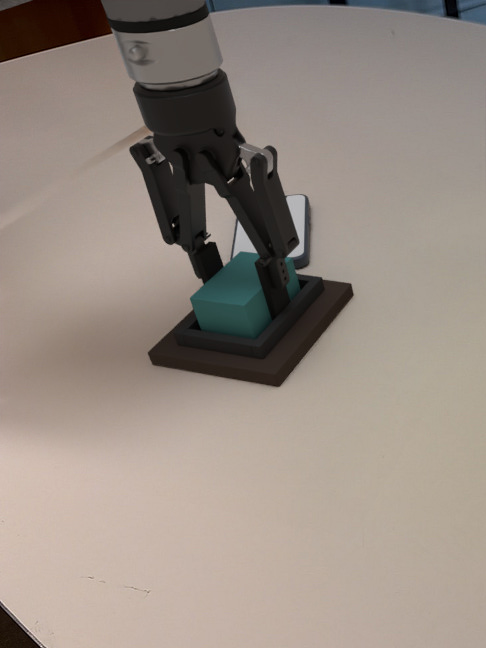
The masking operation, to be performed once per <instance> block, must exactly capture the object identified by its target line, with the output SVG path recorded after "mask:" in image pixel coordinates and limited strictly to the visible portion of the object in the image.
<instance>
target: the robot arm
mask: <svg viewBox="0 0 486 648" xmlns="http://www.w3.org/2000/svg"><path fill="white" fill-rule="evenodd" d="M31 1H32V0H0V12H1V11H4V10H7V9H11V8H14V7H16V6H19V5H22V4H25V3H28V2H31ZM100 2H101V4H102V7H103V9H104V12H105V17H106V20H107V23H108V25H109V27H110V30H111V33H112V35H113V38H114V40H115V43H116V46H117V48H118V51H119V54H120V57H121V61H122V63H123V66H124V68H125V71H126V73H127V76H128V78H129V79H130V80H132V81H134V84H133V86H132V92H133V96H134V98H135V101H136V103H137V106H138V109H139V112H140V115H141V118H142V121H143V124H144V126H145V127H146V128H147V130H149V131H150V132H151V133H153V134H152V135H146V136H145V137H144V138H142V139H140V140H139V141H137V142H136V143H134V144H132V145H131V146H129V148H128V151H129V154H130V156H131V157H132V159H133V160H134V162H135V163H136V165H137V167H138V169H139V170H140V172H141V174H142V178H143V181H144V184H145V187H146V191H147V194H148V197H149V199H150V203H151V207H152V209H153V212H154V216H155V218H156V222H157V225H158V228H159V231H160V234H161V237H162V240H163V242H164V243H165V244H167V245H168V246H173V245H174V244H175V245H177V246H179V247H181V249H182V251H184V252H185V253H187V256H188V259H189V261H190V264H191V267H192V271H193V272H194V275H195V276H196V278H197V279H198V280H201V281H202V286H203V285H204V284H205V283H206V282H207V281H209V280H210V279H211V278H212V277H213V276H214V275H215V274H216V273H217V272H219V271H220V270H221V269H222V268H223V267H224V266H225V265H224V262H223V260H222V257H221V254H220V251H219V248H218V245H217V243H216V241H208V242H206V241H207V240H208V239H209V238H210V237H211V236H212V234H211V233H209V231H207V207H206V205H207V203H206V185H209V186H212V187H213V188H214V189H215V191H216V193H217V195H218V197H220V198H222V199H225V200H226V202H227V204H228V205H229V207H230V208H231V210H232V212H233V214H234V216H235V217H237V219H238V221H239V222H240V224H241V226H242V227H243V229H244V231H245V233H246V234H247V236H248V238H249V239H250V241H251V243H252V244H253V246H254V248H255V249H256V251H257V253H258V255H259V256H260V258H259V259H258V260H257V261H256V262H254V264H255V267H256V270H257V274H258V277H259V280H260V284H261V287H262V290H263V293H264V296H265V299H266V303H267V306H268V309H269V312H270V316H271V319H272V320H274V319H275V318H276V317H277V316H278V315H279V314H280V313H281V311H282V310H283V309H284V308H285V307H286V306H287V305H288V304H289V303H290V302H291V301H290V298H289V294H288V291H287V287H286V285H287V284H288V283H289V280H290V276H289V273H288V269H287V265H286V262H285V258H286V257H287V256H288V255H289V254H290V253H291V252H292V251H293V250H294V249H295V248H296V247H297V246H298V245H299V243H300V241H299V238H298V234H297V231H296V228H295V225H294V222H293V219H292V216H291V213H290V209H289V206H288V203H287V200H286V197H285V196H286V194H285V191H284V188H283V184H282V182H281V179H280V176H279V175H280V174H279V172H278V157H279V156H278V151H277V149H276V148H275V146H273V145H270V144H269V145H266V146H265V147H263V148H260V147H258V146H256V145H253V144H249V143H248V142H247V141H246V139H245V137H244V135H243V134H242V133H241V131H240V129H239V128H238V126H237V106H236V103H235V100H234V97H233V91H232V88H231V84H230V81H229V77H228V74H227V72H226V71H224V70H223V69H222V68H221V66H222V65H223V63H224V58H223V55H222V51H221V48H220V43H219V41H218V37H217V34H216V31H215V27H214V24H213V21H212V17H211V14H210V12H209V7H208V4H207V1H206V0H100ZM243 161H244V162H245V165H246V166H245V165H244V164H243Z"/></svg>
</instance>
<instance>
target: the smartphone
mask: <svg viewBox="0 0 486 648" xmlns="http://www.w3.org/2000/svg"><path fill="white" fill-rule="evenodd" d="M285 197H286V200H287V203H288V206H289V209H290V213H291V216H292V219H293V222H294V225H295V228H296V231H297V234H298V238H299V241H300V243H299V245H298V246H297V247H296V248H295V249H294V250H293V251H292V252H291V253H290V254H289V255H288V256H287V257H292V260H293V263H294V267H295V269H300V268H303V267H306V265H308V264H309V262H310V226H311V215H310V214H311V205H310V204H311V203H310V200H309V197H308V196H307V195H306V194H303V193H297V194H288V195H287V194H286V195H285ZM235 217H236V216H235ZM232 238H233V239H232V245H231V250H230V251H231V252H230V258H229V261H230V260H232V259H233V258H234V257H235V256H236V255H237V254H238V253H239V252H240V251H243V252H251V253H257V251H256V249H255V248H254V246H253V244H252V243H251V241H250V239H249V238H248V236H247V234H246V233H245V231H244V229H243V227H242V226H241V224H240V222H239V221H238V219H237V217H236V218H235V225H234V232H233V237H232Z"/></svg>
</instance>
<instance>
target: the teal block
mask: <svg viewBox="0 0 486 648" xmlns="http://www.w3.org/2000/svg"><path fill="white" fill-rule="evenodd" d="M259 258H260V256H259V255H258V253H251V252H243V251H240V252H239V253H238V254H237V255H236V256H235V257H234V258H233V259H232V260H230V259H229V261H228V262H226V264H225V265H223V266H224V267H223V268H222V269H221V270H220V271H219V272H217V273H216V274H215V275H214V276H213V277H212V278H211V279H210V280H209V281H207V282H206V283H205V284H204V285H203V284H202V286H201V287H199V289H198V290H196V291H195V292H194V293H193V294H192V295H191V296H189V301H190V305H191V306H192V307H191V308H192V310H193V309H194V312H195V315H196V317H197V320H198V323H199V325H200V328H201V330H202V331H206V332H212V333H218V334H225V335H231V336H237V337H243V338H249V339H255V340H256V339H257V338H258V337H259V336H260V334H261V333H262V332H263V331H264V330H265V329H266V328H267V327H268V326H269V325H270V324H271V322H272V321H273V320H272V319H271V316H270V312H269V309H268V306H267V303H266V299H265V296H264V293H263V290H262V287H261V284H260V280H259V277H258V274H257V270H256V267H255V264H254V262H256V261H257V260H258V259H259ZM285 262H286V265H287V269H288V273H289V276H290V280H289V283H288V284H287V285H286V287H287V291H288V294H289V298H290V301H291V300H292V299H293V298H294V297H295V296H296V295H297V294H298V293H299V292H300V291H301V289H300V285H299V282H298V278H297V274H298V273H297V271H296V268H295V267H294V263H293V260H292V257H286V258H285Z"/></svg>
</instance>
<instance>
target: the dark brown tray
mask: <svg viewBox="0 0 486 648" xmlns="http://www.w3.org/2000/svg"><path fill="white" fill-rule="evenodd" d="M296 274H297V278H298V282H299V285H300V289H301V291H300V292H299V293H298V294H297V295H296V296H295V297H294V298H293V299H292V300H291V302H290V303H289V304H288V305H287V306H286V307H285V308H284V309H283V310H282V311H281V313H280V314H279V315H278V316H277V317H276V318H275V319H274V320H273V321H272V322H271V324H270V325H269V326H268V327H267V328H266V329H265V330H264V331H263V332H262V333H261V334H260V336H259V337H258V338H257V339H256V340H255V339H249V338H243V337H237V336H231V335H225V334H218V333H212V332H206V331H202V330H201V328H200V325H199V323H198V320H197V317H196V315H195V312H194V309H193V308H192V310H191V311H189V313H187V314H186V315H185V316H184V317H183V318H182V319H181V320H180V321H179V322H178V323H177V324H175V326H173V328H172V329H170V331H168V332H167V333H166V334H165V335H164V336H163V337H162V338H161V339H160V340H158V342H157V343H156V344H155V345H154V346H153V347H151V349H149V350H148V351H147V355H148V357H149V360H150V361H151V365H153V366H159V367H166V368H170V369H171V368H172V369H177V370H183V371H189V372H194V373H199V374H205V375H211V376H218V377H223V378H229V379H234V380H240V381H245V382H251V383H255V384H256V383H258V384H261V385H262V384H263V385H268V386H274V387H280V386H281V385H282V383H284V381H285V380H286V378H287V377H288V376H289V375H290V373H291V372H293V370H294V369H295V367H297V365H298V364H299V363H300V362H301V360H302V359H303V357H304V356H305V355H306V354H307V353H308V352H309V350H310V349H311V348H312V347H313V346H314V344H315V343H316V342H317V341H318V339H319V338H320V337H321V336H322V335H323V333H324V332H325V331H326V329H327V328H328V327H329V326H330V324H331V323H332V322H333V321H334V320H335V318H336V317H337V316H338V315H339V314H340V312H341V311H342V310H343V309H344V308H345V306H346V305H347V304H348V302H349V301H350V300H351V299H352V298H353V296H355V295H354V294H355V293H354V290H353V289H354V288H353V285H352V284H353V283H352V282H351V283H350V282H344V281H337V280H331V279H323V276H316V275H309V274H304V273H303V274H302V273H296Z"/></svg>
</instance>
